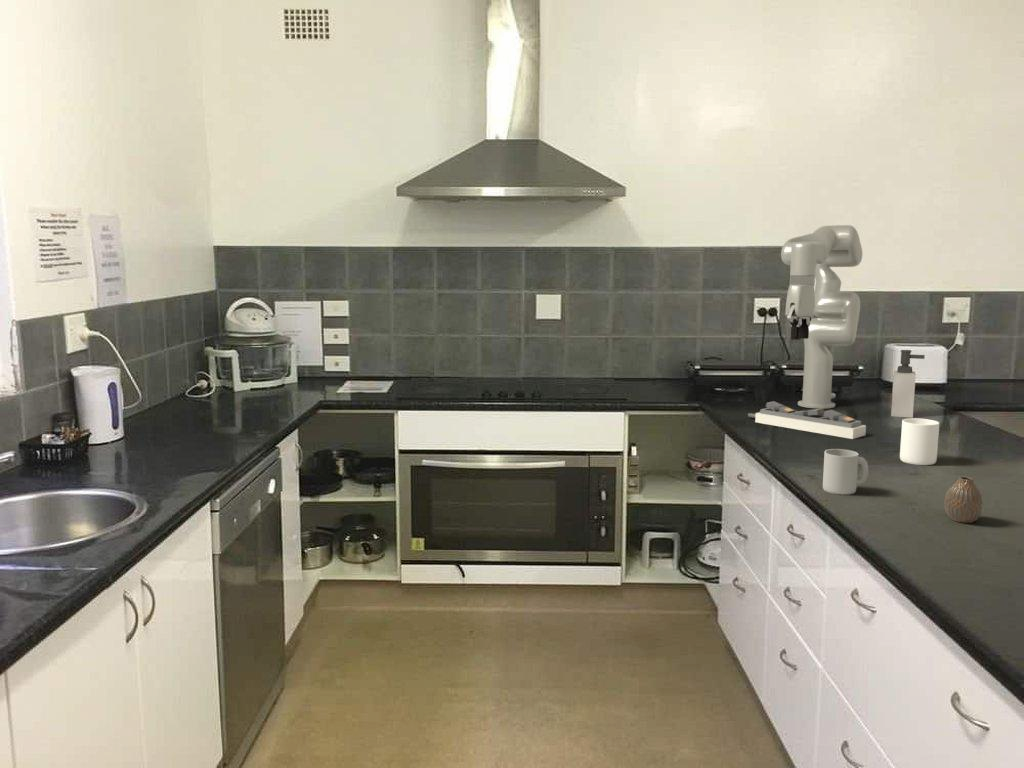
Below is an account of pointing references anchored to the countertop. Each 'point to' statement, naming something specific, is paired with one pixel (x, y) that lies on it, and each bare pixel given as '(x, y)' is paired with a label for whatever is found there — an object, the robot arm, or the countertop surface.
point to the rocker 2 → (810, 412)
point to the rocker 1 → (779, 407)
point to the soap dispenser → (904, 387)
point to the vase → (964, 501)
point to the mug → (919, 441)
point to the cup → (843, 471)
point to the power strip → (810, 423)
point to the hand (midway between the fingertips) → (799, 338)
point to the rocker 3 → (838, 416)
